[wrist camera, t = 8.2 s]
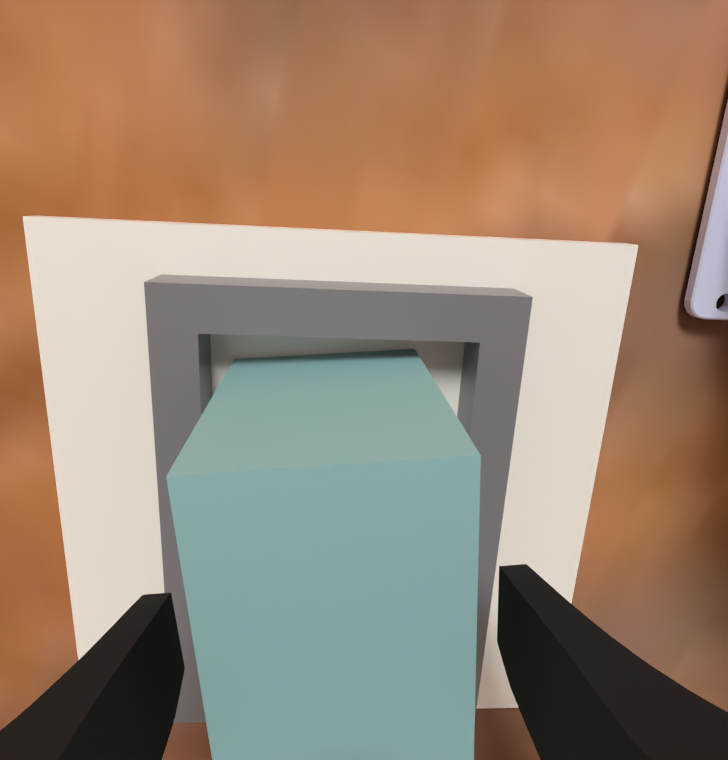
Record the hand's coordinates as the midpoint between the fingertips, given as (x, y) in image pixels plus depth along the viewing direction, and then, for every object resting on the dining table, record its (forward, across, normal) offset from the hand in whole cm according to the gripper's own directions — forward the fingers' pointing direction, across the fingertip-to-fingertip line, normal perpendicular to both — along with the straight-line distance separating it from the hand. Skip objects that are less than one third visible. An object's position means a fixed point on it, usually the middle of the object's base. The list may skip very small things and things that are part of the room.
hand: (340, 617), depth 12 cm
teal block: (+5, 0, 0) cm, 5 cm away
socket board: (+6, 0, 0) cm, 6 cm away
